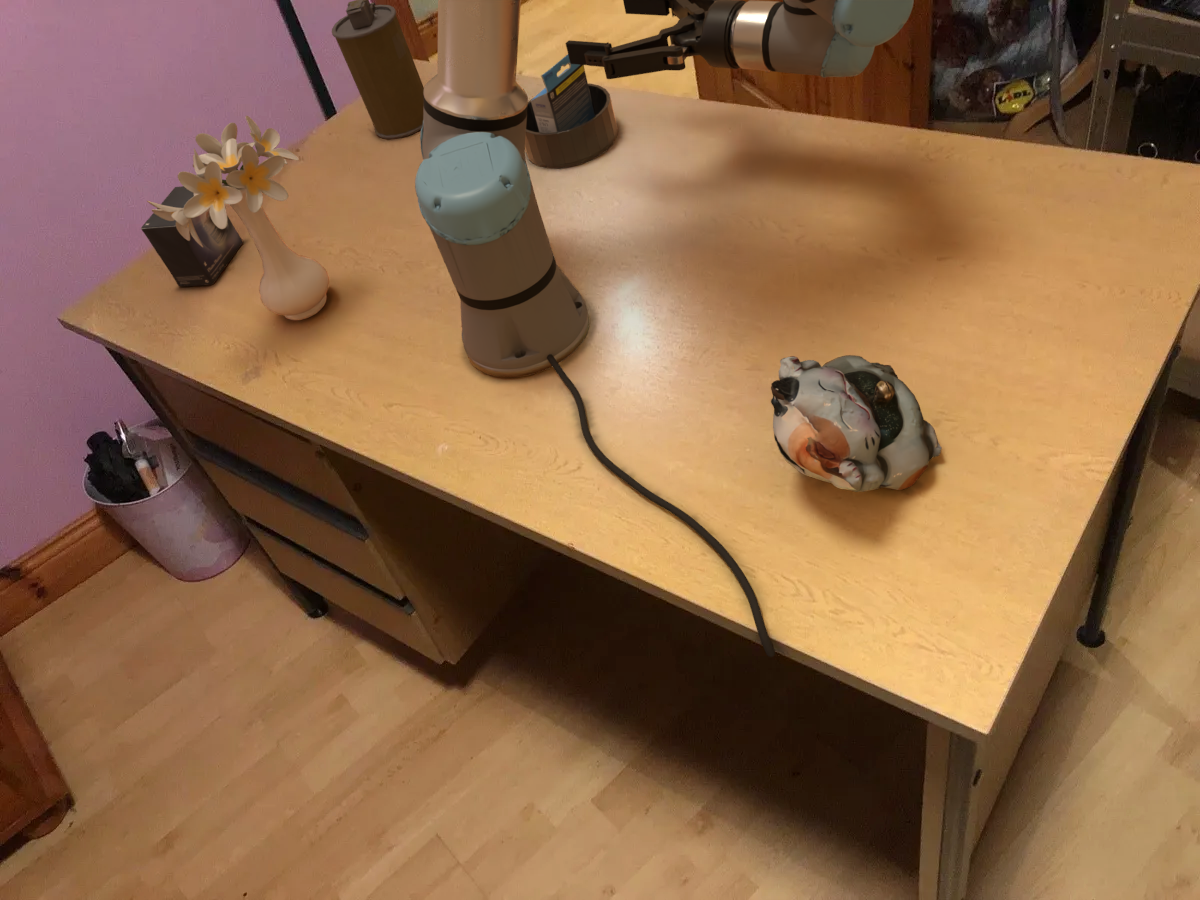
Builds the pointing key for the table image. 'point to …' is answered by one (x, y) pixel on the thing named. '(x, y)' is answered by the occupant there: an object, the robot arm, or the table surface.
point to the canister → (382, 68)
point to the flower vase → (251, 214)
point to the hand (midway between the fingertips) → (597, 26)
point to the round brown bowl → (573, 136)
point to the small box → (192, 244)
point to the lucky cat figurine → (851, 424)
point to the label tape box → (563, 98)
